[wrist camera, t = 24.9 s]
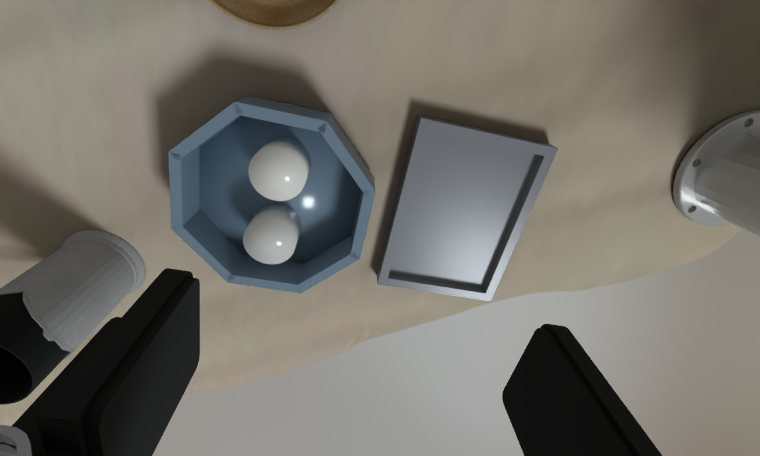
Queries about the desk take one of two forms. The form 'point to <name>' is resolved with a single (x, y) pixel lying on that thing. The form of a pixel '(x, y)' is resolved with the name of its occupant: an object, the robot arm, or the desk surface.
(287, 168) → the pebble
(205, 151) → the bowl
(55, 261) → the glass holder
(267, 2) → the plant saucer
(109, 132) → the desk surface
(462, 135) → the tray
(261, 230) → the pebble
